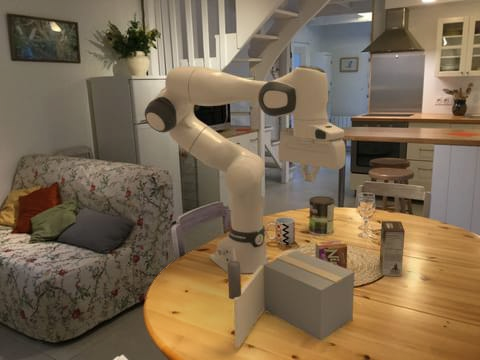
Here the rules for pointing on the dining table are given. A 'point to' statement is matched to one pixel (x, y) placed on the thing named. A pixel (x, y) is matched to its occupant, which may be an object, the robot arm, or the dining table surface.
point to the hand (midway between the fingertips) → (309, 181)
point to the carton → (309, 293)
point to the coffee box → (391, 248)
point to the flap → (245, 299)
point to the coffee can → (321, 215)
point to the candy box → (333, 252)
